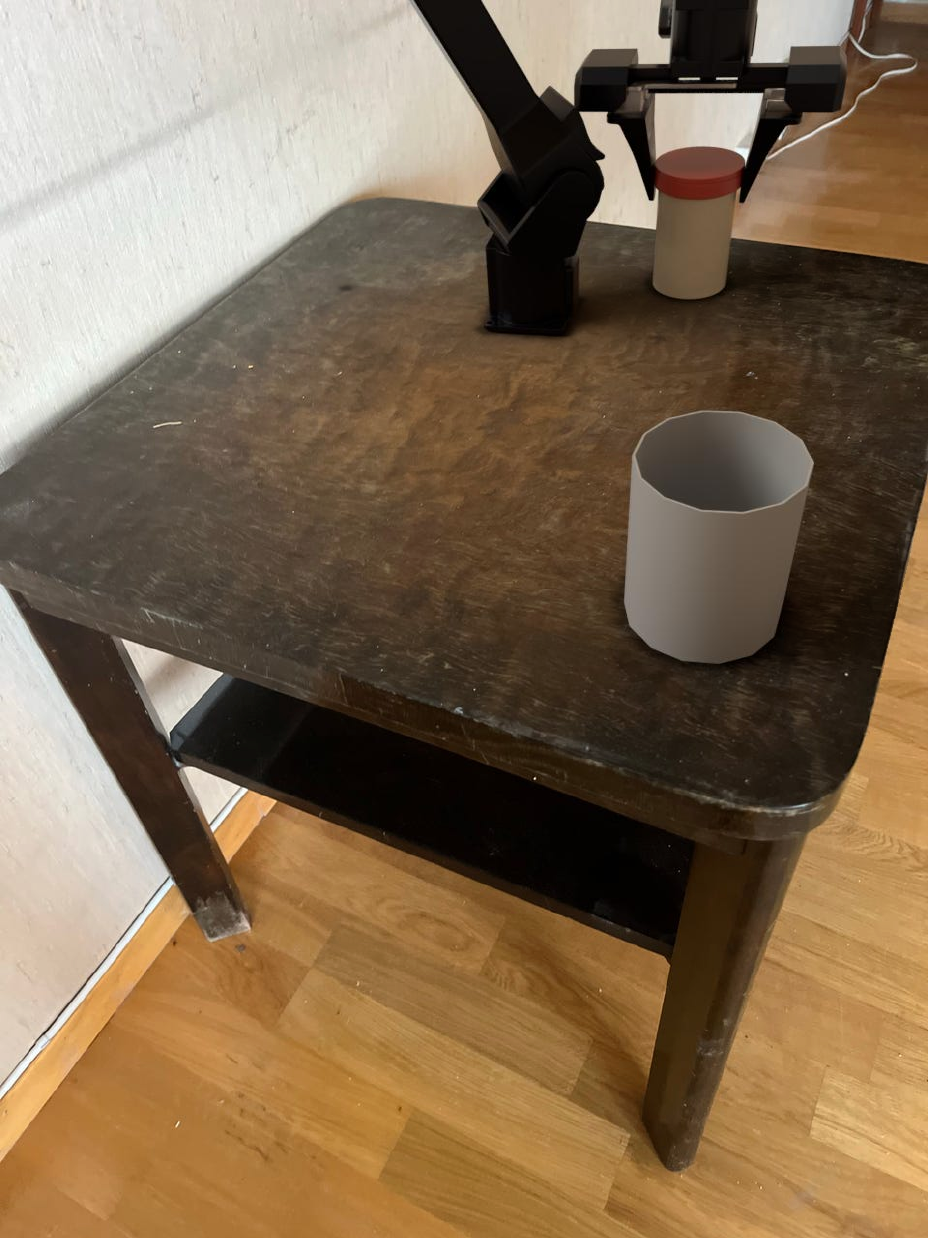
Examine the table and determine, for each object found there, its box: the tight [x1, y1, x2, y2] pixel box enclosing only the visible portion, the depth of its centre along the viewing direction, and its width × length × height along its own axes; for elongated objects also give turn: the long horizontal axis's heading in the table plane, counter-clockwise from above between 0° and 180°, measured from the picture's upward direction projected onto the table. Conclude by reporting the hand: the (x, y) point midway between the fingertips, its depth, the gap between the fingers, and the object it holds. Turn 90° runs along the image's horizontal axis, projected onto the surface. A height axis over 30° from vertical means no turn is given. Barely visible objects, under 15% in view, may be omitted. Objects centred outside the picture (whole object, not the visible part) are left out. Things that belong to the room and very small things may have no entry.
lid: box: [654, 145, 746, 199], centre depth 73 cm, size 7×7×2 cm
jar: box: [652, 190, 738, 300], centre depth 76 cm, size 6×6×9 cm
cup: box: [623, 410, 815, 665], centre depth 49 cm, size 8×8×10 cm
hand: (696, 199), depth 75 cm, fingers closed on lid, 6 cm apart
